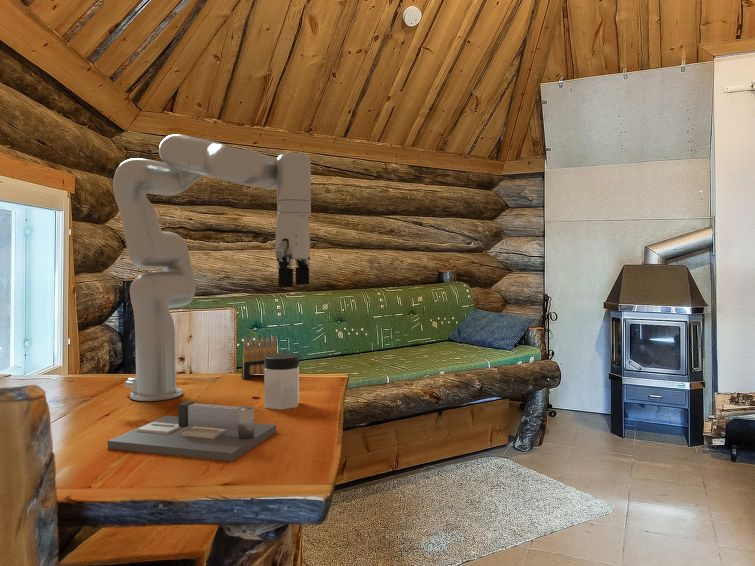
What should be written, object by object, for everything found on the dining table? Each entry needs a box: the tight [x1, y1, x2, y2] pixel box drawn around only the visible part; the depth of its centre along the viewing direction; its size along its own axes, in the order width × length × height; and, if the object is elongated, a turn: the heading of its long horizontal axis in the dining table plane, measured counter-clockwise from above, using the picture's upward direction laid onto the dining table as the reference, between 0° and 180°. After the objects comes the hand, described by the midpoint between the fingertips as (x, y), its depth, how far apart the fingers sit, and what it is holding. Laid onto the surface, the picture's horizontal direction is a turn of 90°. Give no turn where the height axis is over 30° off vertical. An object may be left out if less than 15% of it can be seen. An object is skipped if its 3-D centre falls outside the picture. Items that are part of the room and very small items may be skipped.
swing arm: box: [177, 400, 255, 438], centre depth 116 cm, size 15×3×5 cm, turn 74°
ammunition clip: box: [241, 335, 278, 381], centre depth 176 cm, size 11×2×12 cm, turn 123°
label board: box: [107, 415, 277, 462], centre depth 118 cm, size 26×18×2 cm
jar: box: [263, 352, 300, 411], centre depth 144 cm, size 9×8×12 cm
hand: (294, 285), depth 136 cm, fingers open, 9 cm apart
